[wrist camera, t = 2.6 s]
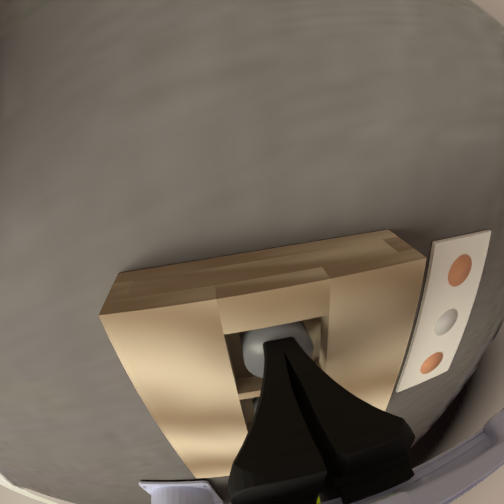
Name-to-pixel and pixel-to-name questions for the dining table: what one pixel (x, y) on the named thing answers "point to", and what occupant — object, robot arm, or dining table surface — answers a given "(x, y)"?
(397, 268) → the button board
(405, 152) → the dining table surface
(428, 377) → the card
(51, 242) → the dining table surface
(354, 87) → the dining table surface
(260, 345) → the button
